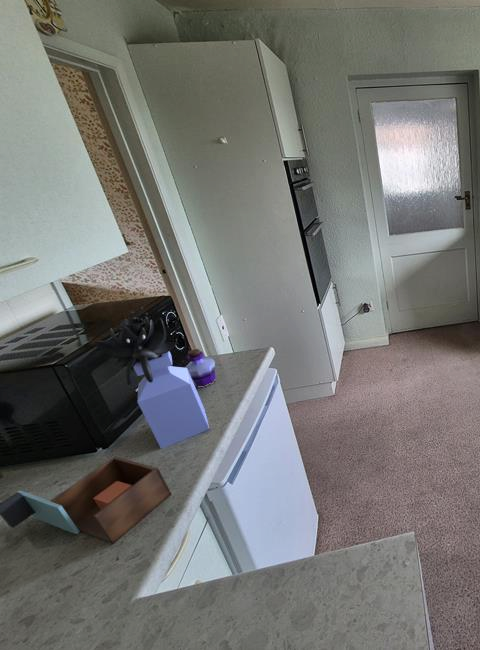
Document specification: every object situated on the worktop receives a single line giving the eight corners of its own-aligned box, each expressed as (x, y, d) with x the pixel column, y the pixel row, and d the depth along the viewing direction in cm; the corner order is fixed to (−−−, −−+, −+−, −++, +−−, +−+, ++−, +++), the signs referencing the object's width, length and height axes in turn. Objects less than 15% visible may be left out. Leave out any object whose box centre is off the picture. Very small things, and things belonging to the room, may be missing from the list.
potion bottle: (184, 389, 121) (170, 356, 116) (208, 374, 128) (195, 342, 123) (204, 392, 118) (190, 359, 113) (227, 377, 125) (215, 345, 120)
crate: (113, 544, 73) (95, 516, 69) (69, 526, 77) (50, 500, 74) (171, 494, 82) (158, 468, 79) (129, 481, 87) (115, 456, 84)
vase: (146, 458, 93) (79, 331, 79) (147, 433, 102) (86, 315, 88) (212, 430, 101) (161, 310, 87) (207, 410, 109) (160, 297, 95)
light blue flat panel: (54, 551, 71) (32, 522, 68) (12, 533, 76) (-10, 505, 73) (80, 531, 75) (59, 503, 72) (38, 515, 79) (18, 488, 76)
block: (103, 513, 78) (93, 498, 77) (126, 495, 82) (117, 480, 80) (117, 518, 77) (107, 503, 75) (140, 500, 81) (131, 485, 79)
